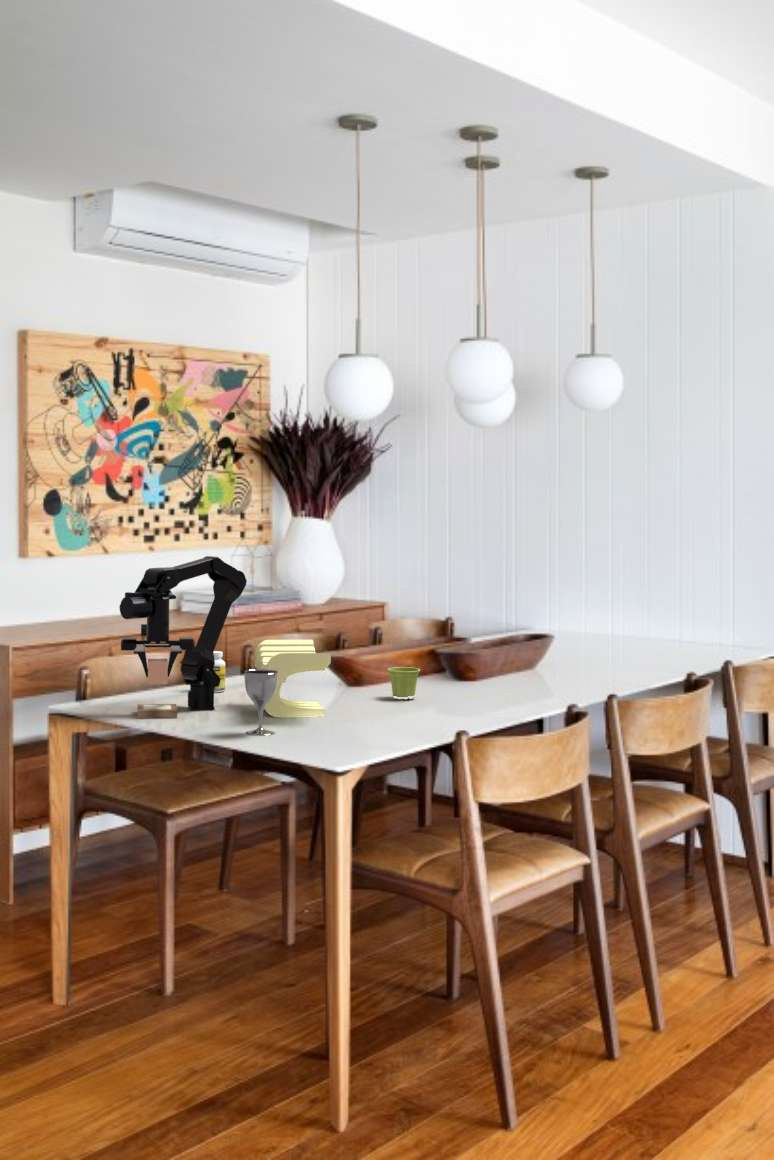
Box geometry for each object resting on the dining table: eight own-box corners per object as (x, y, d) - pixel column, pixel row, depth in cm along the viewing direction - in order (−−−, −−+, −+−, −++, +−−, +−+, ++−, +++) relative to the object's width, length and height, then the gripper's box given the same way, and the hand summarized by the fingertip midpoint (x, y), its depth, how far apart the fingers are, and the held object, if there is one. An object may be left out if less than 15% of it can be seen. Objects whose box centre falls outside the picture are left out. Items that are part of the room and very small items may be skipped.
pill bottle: (204, 693, 374) (204, 653, 373) (201, 690, 380) (201, 650, 379) (226, 693, 376) (227, 653, 375) (223, 689, 382) (223, 650, 381)
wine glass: (277, 730, 318) (278, 669, 317) (275, 736, 310) (276, 673, 309) (245, 729, 318) (245, 668, 317) (242, 735, 310) (243, 673, 309)
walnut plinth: (175, 711, 342) (176, 703, 342) (177, 718, 332) (177, 709, 332) (137, 711, 340) (137, 703, 340) (137, 718, 330) (137, 710, 330)
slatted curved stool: (254, 704, 357) (255, 639, 356) (311, 703, 360) (312, 639, 359) (267, 723, 328) (268, 653, 327) (329, 722, 331) (330, 652, 330)
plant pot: (383, 700, 368) (384, 670, 367) (391, 695, 377) (392, 666, 376) (415, 702, 366) (416, 672, 365) (422, 697, 375) (423, 667, 374)
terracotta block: (167, 681, 338) (167, 658, 338) (167, 684, 333) (167, 661, 333) (147, 681, 337) (147, 658, 337) (147, 684, 332) (148, 661, 332)
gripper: (193, 614, 344) (192, 672, 345) (121, 614, 340) (121, 673, 341) (195, 618, 333) (194, 678, 334) (121, 618, 329) (120, 679, 330)
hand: (157, 677), depth 335 cm, fingers closed on terracotta block, 5 cm apart
